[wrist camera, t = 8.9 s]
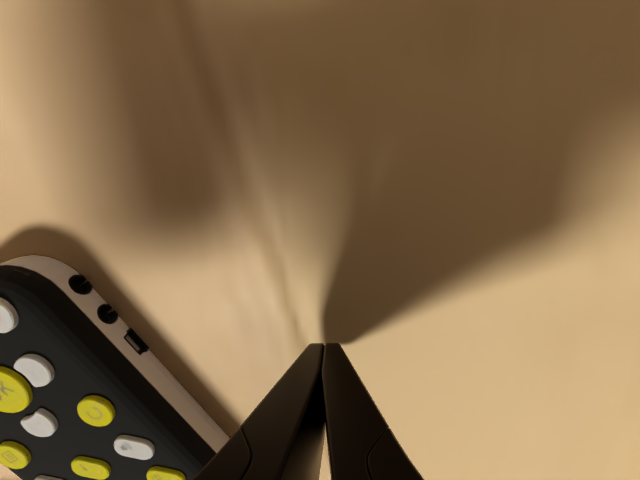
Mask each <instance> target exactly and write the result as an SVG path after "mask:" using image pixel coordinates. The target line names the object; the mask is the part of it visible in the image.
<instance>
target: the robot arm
mask: <svg viewBox="0 0 640 480" xmlns="http://www.w3.org/2000/svg"><path fill="white" fill-rule="evenodd" d="M325 427H326V434H327V444H328V454H329V464H330V474H331V480H424V479H423V477H422V476H421V475H420V473H419V472H418V471H417V469H416V468H415V466H414V465H413V464H412V462H411V461H410V459H409V458H408V456H407V455H406V453H405V452H404V450H403V449H402V447H401V446H400V444H399V442H398V441H397V439H396V437H395V436H394V434H393V432H392V431H391V429H390V428H389V426H388V424H387V423H386V421H385V419H384V418H383V416H382V414H381V413H380V411H379V409H378V408H377V406H376V404H375V403H374V401H373V399H372V397H371V396H370V394H369V392H368V391H367V389H366V387H365V386H364V384H363V382H362V381H361V379H360V377H359V376H358V374H357V372H356V371H355V369H354V367H353V366H352V364H351V362H350V361H349V359H348V357H347V356H346V354H345V352H344V351H343V349H342V347H341V345H340V344H339V343H326V344H325V345H324V344H323V343H312V344H309V345H308V346H307V348H306V349H305V350H304V351H303V352H302V354H301V355H300V356H299V357H298V358H297V360H296V361H295V362H294V363H293V364H292V365H291V367H290V368H289V369H288V370H287V371H286V373H285V374H284V375H283V376H282V377H281V379H280V380H279V381H278V382H277V383H276V385H275V386H274V387H273V388H272V389H271V390H270V392H269V393H268V394H267V395H266V396H265V398H264V399H263V400H262V401H261V402H260V404H259V405H258V406H257V407H256V408H255V409H254V411H253V412H252V413H251V414H250V415H249V417H248V418H247V419H246V420H245V421H244V423H243V424H242V425H241V427H240V428H239V429H238V430H237V431H236V432H235V433H234V434H233V435H232V437H231V438H230V439H229V440H228V441H227V442H226V444H225V445H224V446H223V447H222V448H221V449H220V450H219V452H218V453H217V454H216V455H215V456H214V457H213V458H212V459H211V460H210V461H209V462H208V463H207V464H206V465H205V466H204V468H203V469H202V470H201V471H200V472H199V473H198V474H197V475H196V476H195V477H194V478H193V479H192V480H319V474H320V467H321V459H322V452H323V445H324V437H325Z"/></svg>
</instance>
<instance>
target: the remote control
mask: <svg viewBox="0 0 640 480" xmlns="http://www.w3.org/2000/svg"><path fill="white" fill-rule="evenodd" d="M85 280H86V278H85V277H84V276H83V275H80V274H79V273H78V272H77V271H75V270H74V269H73V268H71V267H70V266H68V265H66V264H65V263H63V262H61V261H59V260H56V259H53V258H50V257H47V256H38V255H29V256H22V257H17V258H14V259H11V260H8V261H6V262H3V263H1V264H0V463H1V464H3V465H4V466H6V467H8V468H9V469H10V470H11V471H12V472H14V473H15V474H16V475H17V476H19V477H20V478H21V479H22V480H192V479H193V478H194V477H195V476H196V475H197V474H198V473H199V472H200V471H201V470H202V469H203V468H204V466H205V465H206V464H207V463H208V462H209V461H210V460H211V459H212V458H213V457H214V456H215V455H216V454H217V453H218V452H219V450H220V449H221V448H222V447H223V446H224V445H225V444H226V442H227V441H228V440H229V439H230V438H229V437H228V436H227V434H226V433H225V432H224V431H223V430H222V429H221V428H220V427H219V426H218V425H217V424H216V422H215V421H214V420H213V419H212V418H211V417H210V416H209V415H208V414H207V413H206V411H205V410H204V409H203V408H202V407H201V406H200V405H199V404H198V403H197V402H196V400H195V399H194V398H193V397H192V396H191V395H190V394H189V393H188V392H187V391H186V390H185V388H184V387H183V386H182V385H181V384H180V383H179V382H178V381H177V380H176V379H175V377H174V376H173V375H172V374H171V373H170V372H169V371H168V370H167V369H166V368H165V366H164V365H163V364H162V363H161V362H160V361H159V360H158V359H157V358H156V357H155V355H154V354H153V353H152V352H151V351H150V350H149V349H148V348H149V347H148V346H147V345H146V344H145V343H144V342H143V341H142V340H141V338H140V337H139V336H138V335H137V334H136V333H135V332H134V331H133V330H132V329H131V328H129V327H128V326H127V325H126V324H125V323H124V321H123V320H122V319H121V318H120V317H119V316H118V314H117V313H116V311H115V310H114V311H113V312H111V313H109V314H107V313H106V312H107V311H109V310H110V309H112V307H111V306H110V305H109V304H107V303H106V302H105V301H104V300H103V298H102V297H101V296H100V295H99V294H98V293H97V292H96V291H95V290H94V289H93V287H92V285H91V284H90V283H89V282H86V283H85V284H83V285H80V284H81V283H82V282H84V281H85ZM147 349H148V350H147Z"/></svg>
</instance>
